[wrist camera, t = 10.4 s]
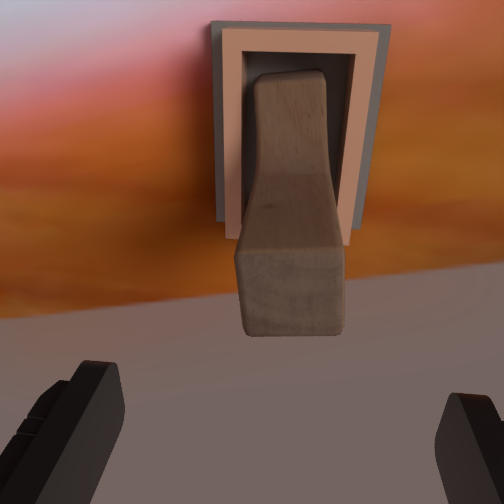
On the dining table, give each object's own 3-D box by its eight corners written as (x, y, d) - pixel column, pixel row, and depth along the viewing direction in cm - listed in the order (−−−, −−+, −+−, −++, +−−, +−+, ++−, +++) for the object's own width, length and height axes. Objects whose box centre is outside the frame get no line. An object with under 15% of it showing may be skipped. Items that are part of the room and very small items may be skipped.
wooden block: (258, 73, 31) (216, 141, 15) (323, 67, 30) (347, 132, 15) (267, 192, 35) (242, 340, 20) (324, 189, 35) (344, 339, 19)
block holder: (388, 24, 30) (402, 26, 26) (358, 224, 37) (365, 250, 33) (213, 20, 30) (201, 22, 27) (218, 216, 38) (208, 240, 34)
